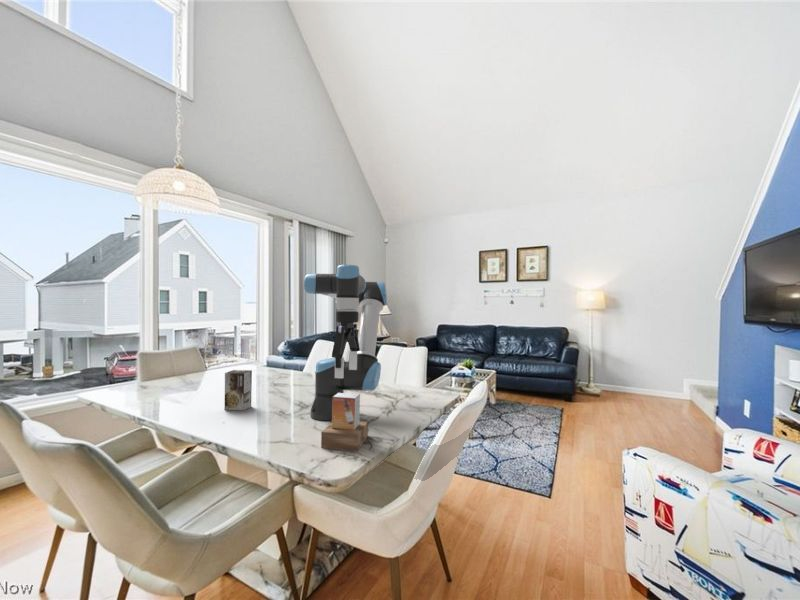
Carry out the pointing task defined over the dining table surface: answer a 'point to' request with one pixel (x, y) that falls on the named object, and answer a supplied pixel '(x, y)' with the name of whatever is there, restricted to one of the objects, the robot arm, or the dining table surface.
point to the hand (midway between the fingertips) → (346, 373)
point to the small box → (345, 411)
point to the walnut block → (344, 437)
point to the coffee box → (238, 389)
